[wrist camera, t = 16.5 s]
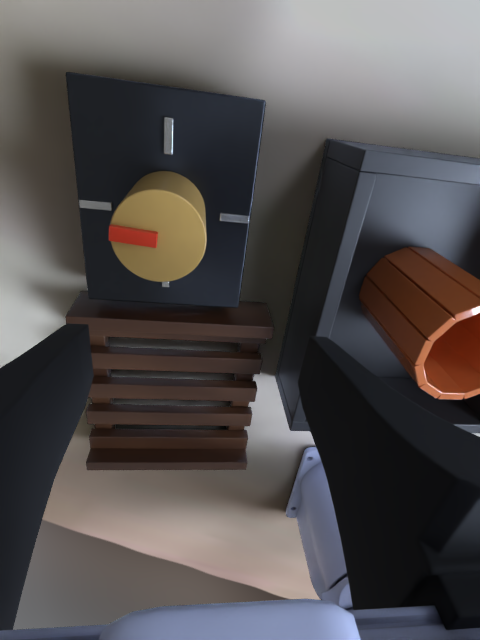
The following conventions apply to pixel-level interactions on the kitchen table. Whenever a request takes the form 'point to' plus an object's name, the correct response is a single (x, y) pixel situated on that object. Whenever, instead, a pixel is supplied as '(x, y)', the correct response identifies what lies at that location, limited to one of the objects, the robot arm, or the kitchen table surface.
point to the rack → (171, 383)
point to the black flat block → (164, 155)
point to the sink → (377, 257)
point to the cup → (427, 319)
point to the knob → (160, 227)
